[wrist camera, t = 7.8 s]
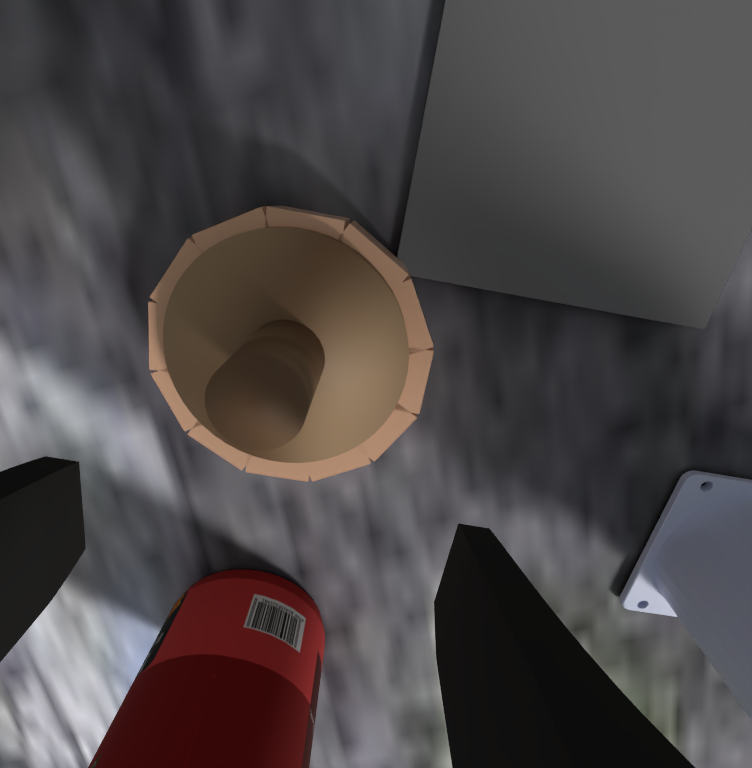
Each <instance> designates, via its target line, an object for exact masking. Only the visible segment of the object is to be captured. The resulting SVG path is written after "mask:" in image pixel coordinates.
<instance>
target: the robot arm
mask: <svg viewBox="0 0 752 768" xmlns="http://www.w3.org/2000/svg"><path fill="white" fill-rule="evenodd" d="M704 482H706V483H705V484H704V485H703V486H701V485H702V484H703V483H704ZM85 549H86V547H85V534H84V521H83V509H82V496H81V483H80V470H79V462H76V461H70V460H64V459H58V458H52V457H42V458H39V459H36V460H33V461H29V462H26V463H24V464H21V465H18V466H15V467H12V468H9V469H7V470H4V471H1V472H0V662H1V661H2V659H3V658H4V657H5V656H6V655H7V653H8V652H9V651H10V650H11V649H12V647H13V646H14V645H15V644H16V643H17V642H18V640H19V639H20V638H21V637H22V636H23V634H24V633H25V632H26V631H27V629H28V628H29V627H30V626H31V625H32V623H33V622H34V621H35V620H36V619H37V617H38V616H39V615H40V614H41V613H42V611H43V610H44V609H45V608H46V606H47V605H48V604H49V603H50V602H51V600H52V599H53V597H54V596H55V594H56V593H57V591H58V590H59V589H60V587H61V586H62V584H63V583H64V581H65V580H66V578H67V577H68V575H69V574H70V572H71V571H72V569H73V567H74V566H75V564H76V563H77V561H78V560H79V558H80V556H81V555H82V553H83V552H84V550H85ZM619 599H620V602H621V604H622V605H623V607H624V608H625V609H628V610H634V611H641V612H648V613H654V614H661V615H668V616H675V617H678V618H679V619H680V621H681V622H682V623H683V625H684V626H685V628H686V629H687V630H688V632H689V633H690V635H691V636H692V637H693V639H694V640H695V642H696V643H697V644H698V646H699V647H700V649H701V650H702V651H703V653H704V654H705V656H706V657H707V658H708V660H709V661H710V663H711V664H712V665H713V667H714V668H715V670H716V671H717V672H718V674H719V675H720V677H721V678H722V679H723V681H724V682H725V684H726V685H727V686H728V688H729V689H730V691H731V692H732V693H733V695H734V696H735V698H736V699H737V701H738V702H739V703H740V705H741V706H742V708H743V709H744V710H745V712H746V713H747V715H748V716H749V717H750V719H751V720H752V480H750V479H744V478H738V477H732V476H725V475H719V474H713V473H707V472H701V471H688V472H686V473H684V474H683V475H682V476H681V477H680V479H679V481H678V483H677V485H676V487H675V489H674V491H673V493H672V495H671V497H670V499H669V501H668V503H667V505H666V507H665V509H664V510H663V512H662V514H661V516H660V518H659V520H658V522H657V524H656V526H655V528H654V530H653V532H652V534H651V536H650V538H649V540H648V542H647V544H646V546H645V548H644V550H643V552H642V554H641V556H640V558H639V560H638V562H637V564H636V566H635V568H634V569H633V571H632V573H631V575H630V577H629V579H628V581H627V583H626V585H625V587H624V589H623V591H622V593H621V595H620V598H619ZM434 610H435V639H436V658H437V665H438V673H439V680H440V686H441V693H442V700H443V707H444V714H445V720H446V727H447V733H448V740H449V747H450V753H451V760H452V767H453V768H695V767H694V766H693V765H692V764H691V763H690V762H689V761H688V760H687V759H686V758H685V757H684V756H683V755H682V754H681V753H680V752H679V751H678V750H677V749H676V748H675V747H674V746H673V745H672V744H671V743H670V742H669V741H668V740H667V739H666V738H665V737H664V736H663V734H662V733H661V732H660V731H659V730H658V729H657V728H656V727H655V726H654V725H653V724H652V723H651V722H650V721H649V720H648V719H647V718H646V717H645V716H644V715H643V714H642V713H641V712H640V711H639V710H638V709H637V708H636V707H635V705H634V704H633V703H632V702H631V701H630V700H629V699H628V698H627V697H626V696H625V695H624V694H623V693H622V691H621V690H620V689H619V688H618V687H617V686H616V685H615V684H614V682H613V681H612V680H611V679H610V678H609V677H608V676H607V674H606V673H605V672H604V671H603V670H602V669H601V668H600V666H599V665H598V664H597V663H596V662H595V661H594V660H593V659H592V657H591V656H590V655H589V654H588V653H587V652H586V651H585V649H584V648H583V647H582V646H581V645H580V643H579V642H578V641H577V640H576V639H575V637H574V636H573V635H572V634H571V633H570V631H569V630H568V629H567V628H566V627H565V625H564V624H563V623H562V622H561V620H560V619H559V618H558V617H557V615H556V614H555V613H554V612H553V610H552V609H551V608H550V607H549V605H548V604H547V603H546V602H545V600H544V599H543V598H542V597H541V595H540V594H539V593H538V591H537V590H536V589H535V588H534V586H533V585H532V584H531V582H530V581H529V580H528V578H527V577H526V576H525V574H524V573H523V572H522V571H521V569H520V568H519V567H518V565H517V564H516V563H515V561H514V560H513V559H512V557H511V556H510V555H509V553H508V552H507V551H506V549H505V548H504V547H503V545H502V544H501V543H500V542H499V540H498V539H497V538H496V536H495V535H494V534H493V533H492V531H491V530H490V529H489V528H482V527H476V526H470V525H464V524H458V527H457V530H456V533H455V536H454V540H453V543H452V546H451V549H450V553H449V556H448V559H447V562H446V566H445V569H444V572H443V575H442V579H441V582H440V585H439V588H438V591H437V595H436V598H435V601H434Z"/></svg>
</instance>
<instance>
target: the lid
mask: <svg viewBox="0 0 752 768" xmlns="http://www.w3.org/2000/svg"><path fill="white" fill-rule="evenodd" d="M163 348H164V355H165V361H166V364H167V368H168V372H169V375H170V377H171V380H172V382H173V384H174V387H175V389H176V391H177V393H178V394H179V396H180V398H181V400H182V401H183V403H184V404H185V405H186V407H187V408H188V410H189V411H190V412H191V414H192V415H193V416H194V417H195V418H196V419H197V420H198V421H199V422H200V423H201V424H202V425H203V426H204V427H205V428H206V429H207V430H208V431H210V432H211V433H212V434H213V435H214V436H216V437H217V438H219V439H220V440H222V441H223V442H225V443H226V444H228V445H230V446H232V447H234V448H236V449H238V450H239V451H242V452H244V453H247V454H249V455H252V456H255V457H259V458H262V459H266V460H271V461H277V462H285V463H306V462H315V461H320V460H325V459H329V458H332V457H335V456H338V455H341V454H343V453H345V452H347V451H350V450H352V449H353V448H355V447H357V446H358V445H360V444H362V443H363V442H365V441H366V440H367V439H368V438H370V437H371V436H372V435H373V434H375V433H376V432H377V431H378V430H379V428H380V427H381V426H382V425H383V424H384V423H385V422H386V420H387V419H388V418H389V416H390V415H391V414H392V412H393V411H394V409H395V407H396V405H397V403H398V401H399V399H400V397H401V394H402V391H403V389H404V386H405V382H406V377H407V373H408V363H409V346H408V337H407V331H406V326H405V321H404V317H403V314H402V311H401V308H400V306H399V303H398V301H397V299H396V297H395V295H394V293H393V291H392V289H391V288H390V286H389V285H388V283H387V282H386V280H385V279H384V277H383V276H382V275H381V274H380V273H379V271H378V270H377V269H376V268H375V267H374V266H373V265H372V264H371V263H370V262H369V261H368V260H367V259H366V258H365V257H363V256H362V255H361V254H360V253H359V252H357V251H356V250H354V249H353V248H351V247H350V246H348V245H347V244H345V243H343V242H341V241H339V240H337V239H335V238H333V237H331V236H328V235H325V234H322V233H319V232H316V231H313V230H308V229H303V228H298V227H268V228H261V229H256V230H251V231H247V232H243V233H239V234H236V235H234V236H231V237H229V238H226V239H224V240H222V241H220V242H218V243H217V244H215V245H213V246H212V247H210V248H208V249H207V250H206V251H205V252H203V253H202V254H201V255H200V256H198V257H197V258H196V259H195V260H194V261H193V262H192V263H191V264H190V266H189V267H188V268H187V269H186V270H185V271H184V273H183V274H182V276H181V277H180V279H179V280H178V282H177V283H176V285H175V287H174V290H173V292H172V294H171V296H170V298H169V302H168V305H167V308H166V312H165V317H164V324H163Z"/></svg>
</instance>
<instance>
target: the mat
mask: <svg viewBox="0 0 752 768" xmlns="http://www.w3.org/2000/svg"><path fill="white" fill-rule="evenodd" d="M751 229H752V0H445V3H444V8H443V14H442V19H441V24H440V30H439V35H438V40H437V46H436V51H435V56H434V62H433V67H432V72H431V78H430V83H429V88H428V94H427V99H426V104H425V110H424V115H423V121H422V126H421V131H420V137H419V142H418V147H417V153H416V158H415V163H414V169H413V174H412V179H411V185H410V190H409V195H408V201H407V206H406V211H405V217H404V222H403V227H402V233H401V238H400V243H399V249H398V254H397V258H398V259H399V260H400V261H401V262H403V263H404V264H405V266H406V269H407V268H408V271H409V274H410V276H413V277H418V278H424V279H429V280H435V281H440V282H446V283H451V284H457V285H462V286H468V287H473V288H479V289H484V290H490V291H495V292H501V293H506V294H512V295H517V296H523V297H528V298H534V299H539V300H545V301H550V302H556V303H561V304H567V305H572V306H578V307H583V308H589V309H594V310H600V311H605V312H611V313H616V314H622V315H627V316H633V317H638V318H644V319H649V320H655V321H660V322H666V323H671V324H677V325H682V326H688V327H693V328H699V329H704V330H705V328H706V326H707V324H708V322H709V320H710V317H711V315H712V313H713V311H714V309H715V307H716V305H717V302H718V300H719V298H720V296H721V294H722V292H723V289H724V287H725V285H726V283H727V281H728V279H729V277H730V274H731V272H732V270H733V268H734V266H735V264H736V262H737V259H738V257H739V255H740V253H741V251H742V249H743V246H744V244H745V242H746V240H747V238H748V236H749V234H750V231H751Z"/></svg>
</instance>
